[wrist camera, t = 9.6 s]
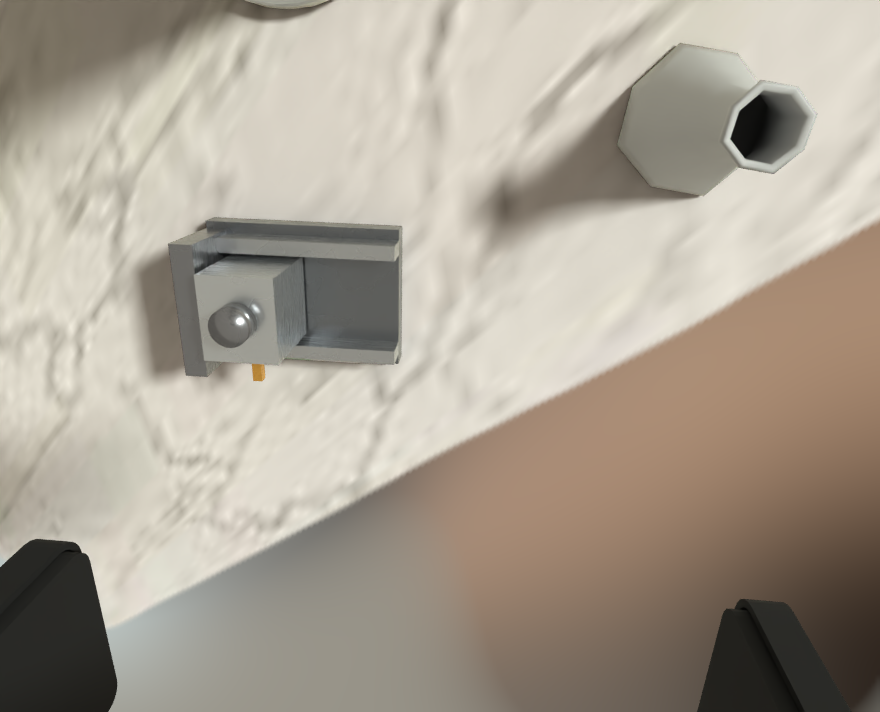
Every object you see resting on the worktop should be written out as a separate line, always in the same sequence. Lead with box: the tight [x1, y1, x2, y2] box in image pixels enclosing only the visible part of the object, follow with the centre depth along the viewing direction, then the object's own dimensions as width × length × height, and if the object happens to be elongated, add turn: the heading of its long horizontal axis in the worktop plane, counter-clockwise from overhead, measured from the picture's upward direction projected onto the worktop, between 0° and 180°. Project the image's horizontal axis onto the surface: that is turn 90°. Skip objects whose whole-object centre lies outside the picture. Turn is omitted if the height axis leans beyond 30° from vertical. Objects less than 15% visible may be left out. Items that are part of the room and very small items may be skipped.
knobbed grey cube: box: [194, 253, 307, 381], centre depth 33 cm, size 4×6×6 cm, turn 178°
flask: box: [617, 43, 817, 196], centre depth 27 cm, size 7×7×10 cm
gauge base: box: [168, 217, 402, 377], centre depth 35 cm, size 11×8×6 cm
